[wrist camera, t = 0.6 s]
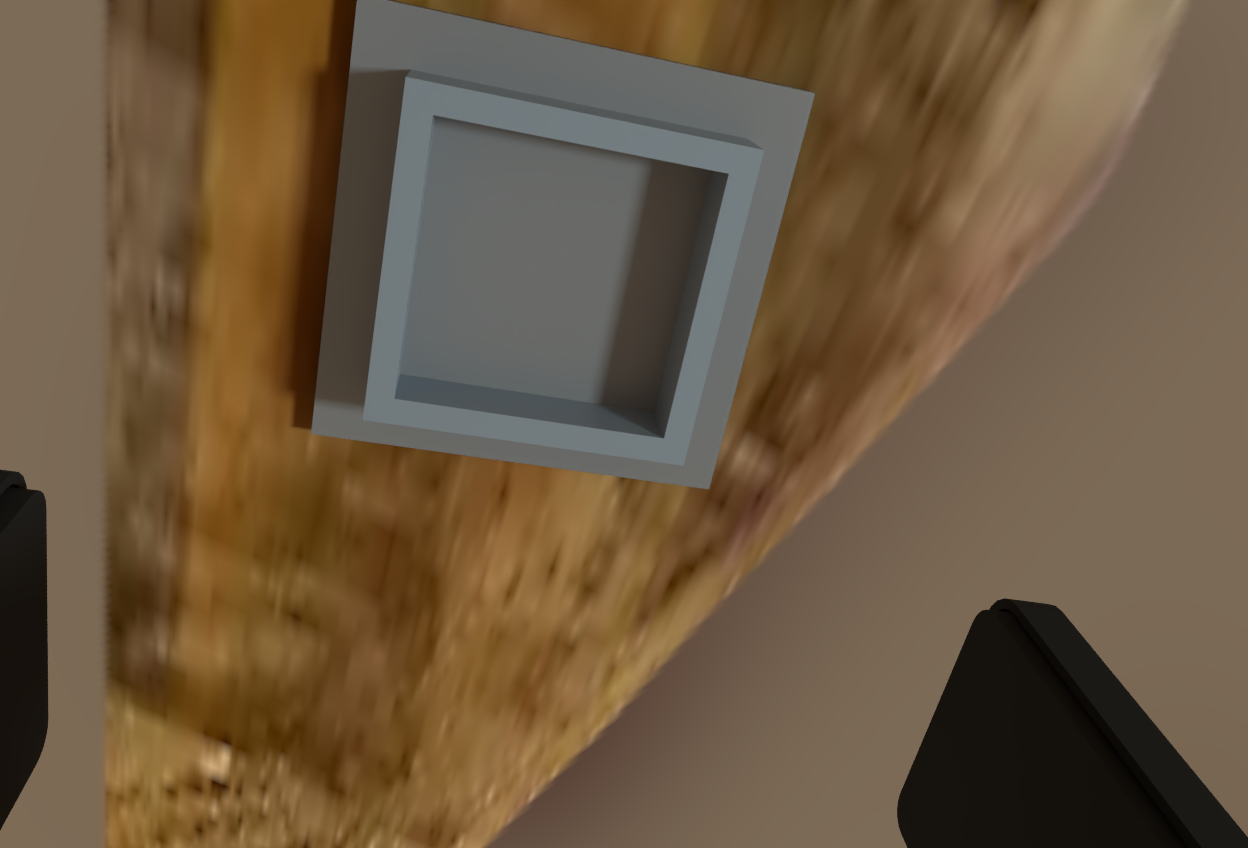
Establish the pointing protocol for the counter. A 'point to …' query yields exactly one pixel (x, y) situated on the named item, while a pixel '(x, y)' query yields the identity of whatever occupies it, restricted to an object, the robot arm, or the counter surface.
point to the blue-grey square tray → (546, 246)
